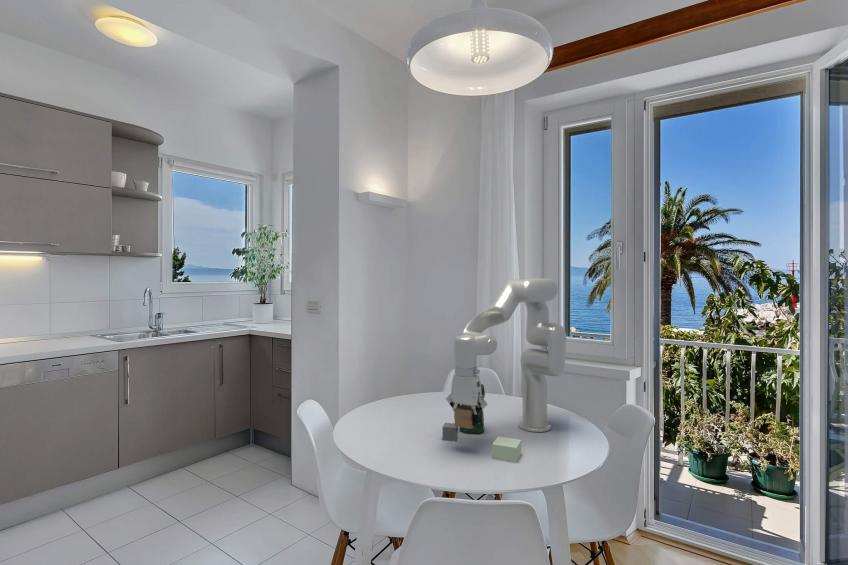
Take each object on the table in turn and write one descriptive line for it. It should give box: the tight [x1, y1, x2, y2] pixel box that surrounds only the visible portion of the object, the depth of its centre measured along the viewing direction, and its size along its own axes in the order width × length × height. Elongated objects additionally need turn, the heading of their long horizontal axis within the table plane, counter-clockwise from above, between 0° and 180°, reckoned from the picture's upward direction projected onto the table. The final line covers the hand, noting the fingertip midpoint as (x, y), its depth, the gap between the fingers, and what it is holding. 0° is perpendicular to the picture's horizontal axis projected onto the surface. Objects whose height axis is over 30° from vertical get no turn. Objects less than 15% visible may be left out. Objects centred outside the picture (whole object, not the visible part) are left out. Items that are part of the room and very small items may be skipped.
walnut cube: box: [454, 404, 476, 429], centre depth 154 cm, size 6×6×6 cm
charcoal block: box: [441, 422, 459, 442], centre depth 166 cm, size 5×5×5 cm
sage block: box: [491, 436, 522, 464], centre depth 149 cm, size 8×8×5 cm
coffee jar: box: [459, 383, 486, 434], centre depth 174 cm, size 10×8×19 cm
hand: (466, 422), depth 154 cm, fingers closed on walnut cube, 6 cm apart
